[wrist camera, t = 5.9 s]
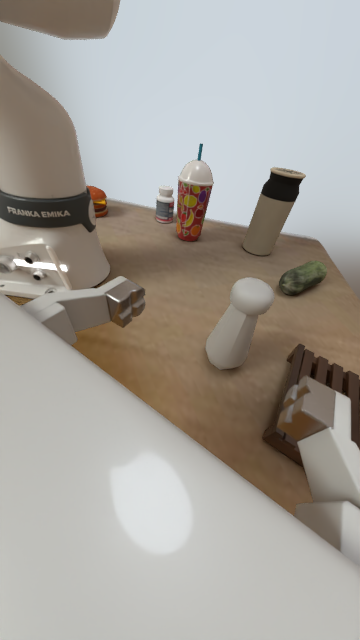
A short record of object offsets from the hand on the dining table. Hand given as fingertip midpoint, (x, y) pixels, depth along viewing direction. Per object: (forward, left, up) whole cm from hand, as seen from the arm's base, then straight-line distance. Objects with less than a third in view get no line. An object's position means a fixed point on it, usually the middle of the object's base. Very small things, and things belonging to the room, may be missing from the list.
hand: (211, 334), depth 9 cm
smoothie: (+8, +49, -17) cm, 53 cm away
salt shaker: (+8, +9, -17) cm, 21 cm away
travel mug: (+27, +44, -17) cm, 55 cm away
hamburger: (-20, +62, -17) cm, 68 cm away
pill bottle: (+2, +60, -17) cm, 63 cm away
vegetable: (+30, +27, -17) cm, 44 cm away
